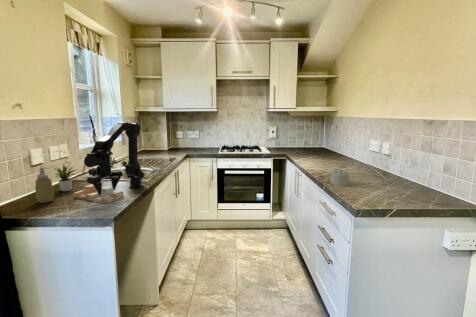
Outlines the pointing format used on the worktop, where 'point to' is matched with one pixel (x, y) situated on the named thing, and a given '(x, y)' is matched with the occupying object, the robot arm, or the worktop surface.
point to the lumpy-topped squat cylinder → (339, 177)
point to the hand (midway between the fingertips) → (106, 192)
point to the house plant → (65, 178)
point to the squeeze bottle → (44, 187)
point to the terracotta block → (89, 189)
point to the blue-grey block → (106, 191)
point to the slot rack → (98, 196)
